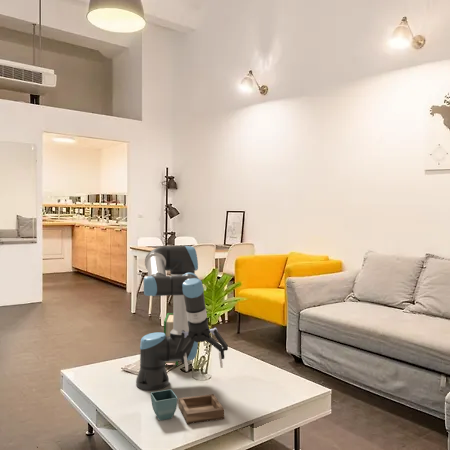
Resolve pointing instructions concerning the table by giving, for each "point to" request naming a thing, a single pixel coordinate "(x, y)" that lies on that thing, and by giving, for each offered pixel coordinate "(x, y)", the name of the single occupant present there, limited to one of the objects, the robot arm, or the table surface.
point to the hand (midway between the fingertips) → (204, 367)
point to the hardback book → (169, 329)
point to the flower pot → (164, 404)
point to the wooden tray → (201, 409)
